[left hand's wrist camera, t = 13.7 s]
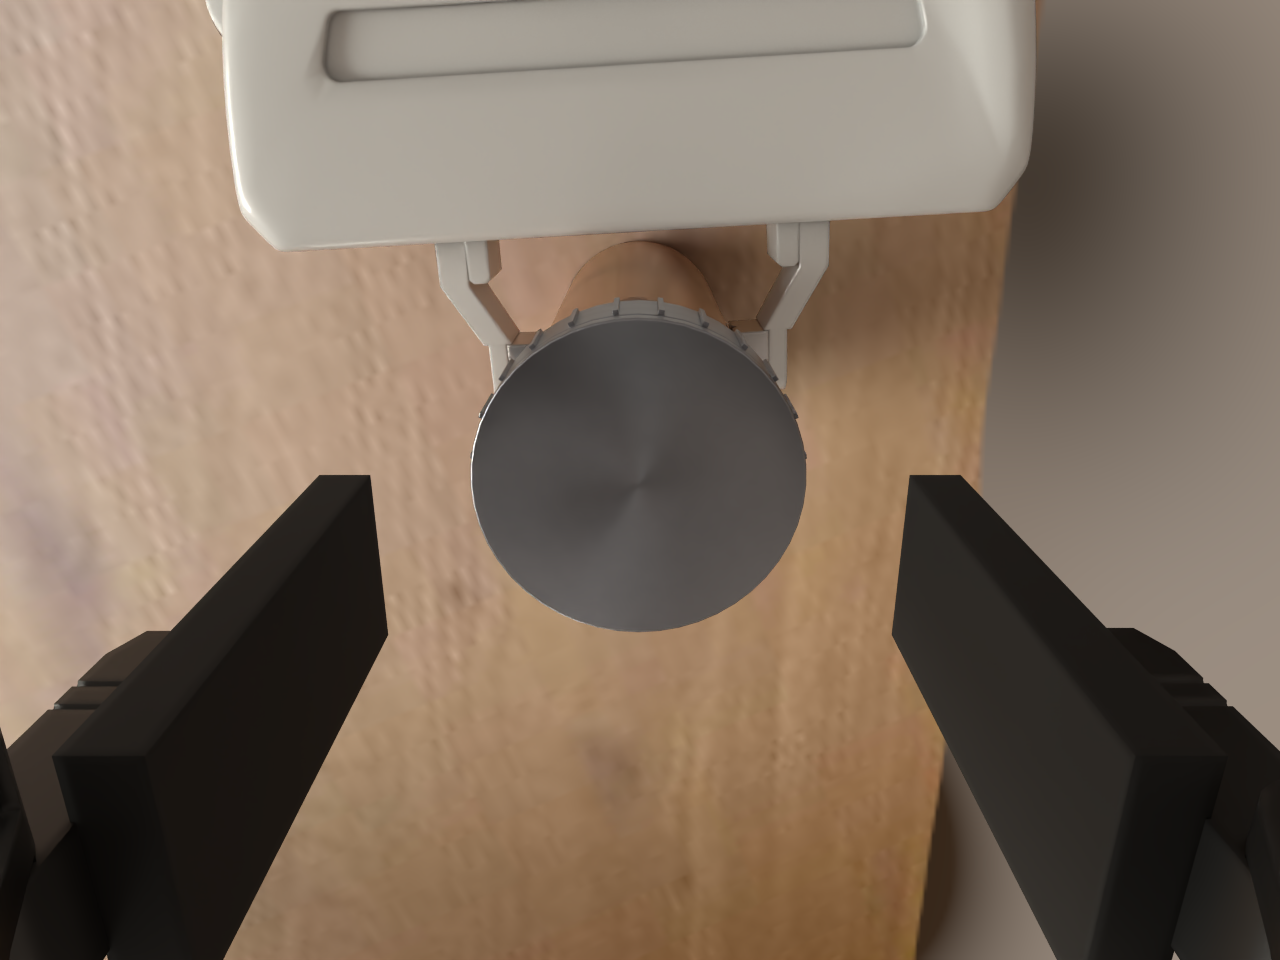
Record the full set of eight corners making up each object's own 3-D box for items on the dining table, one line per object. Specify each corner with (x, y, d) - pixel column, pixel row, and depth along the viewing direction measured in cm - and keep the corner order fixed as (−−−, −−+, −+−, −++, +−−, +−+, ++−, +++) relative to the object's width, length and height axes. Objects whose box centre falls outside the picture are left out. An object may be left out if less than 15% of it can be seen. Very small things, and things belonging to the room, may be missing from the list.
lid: (457, 550, 19) (438, 593, 18) (520, 258, 17) (506, 272, 15) (740, 618, 20) (750, 667, 18) (836, 344, 18) (858, 367, 16)
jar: (548, 371, 33) (470, 568, 18) (584, 222, 31) (530, 301, 16) (691, 408, 33) (732, 630, 18) (734, 264, 32) (820, 379, 16)
